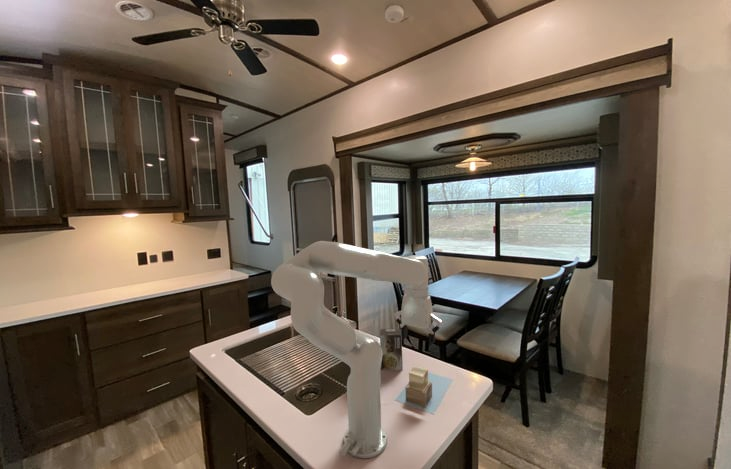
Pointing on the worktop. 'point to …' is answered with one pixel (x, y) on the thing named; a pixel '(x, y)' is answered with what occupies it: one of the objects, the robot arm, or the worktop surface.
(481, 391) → the worktop surface
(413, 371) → the maple block
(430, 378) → the board
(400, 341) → the coffee box
